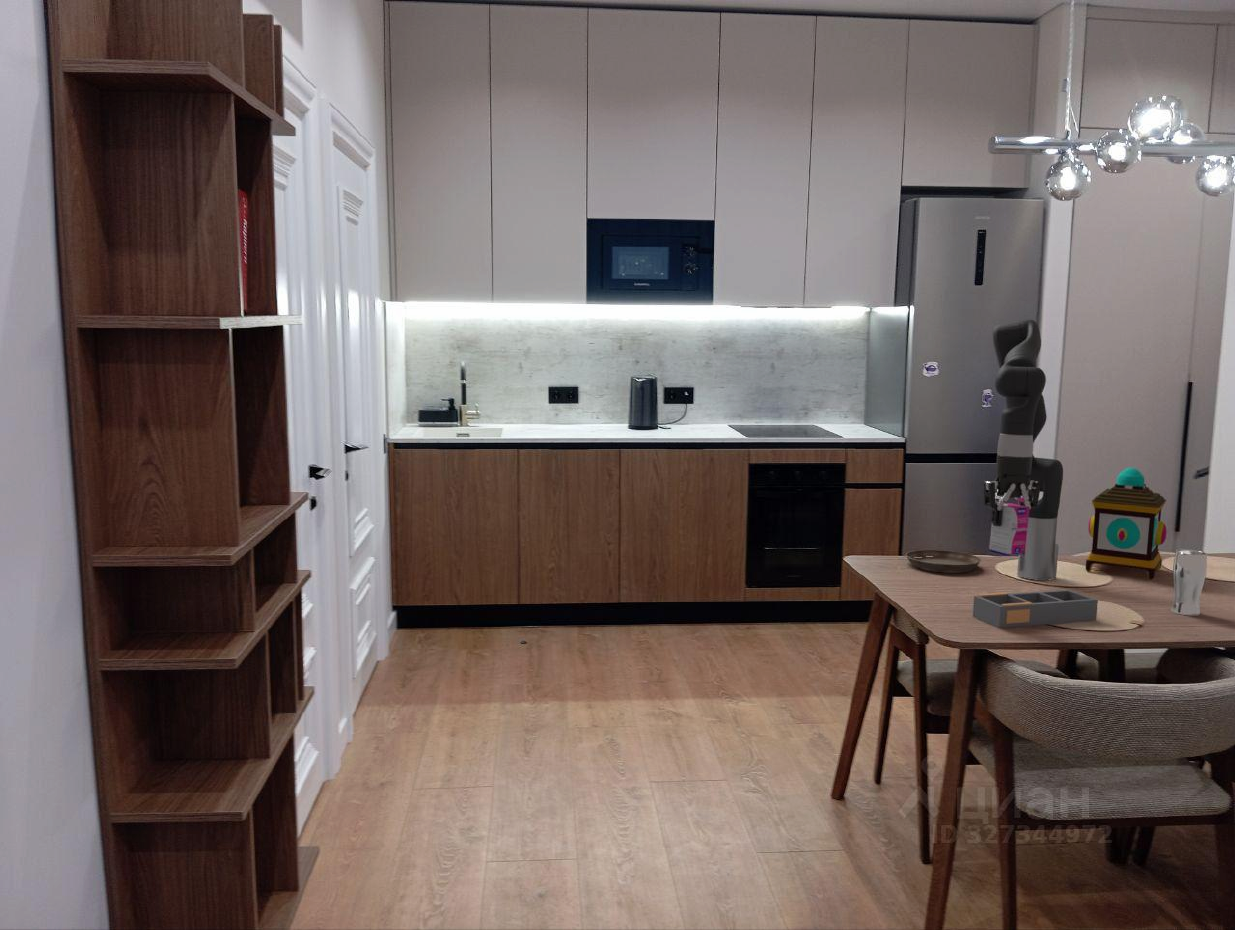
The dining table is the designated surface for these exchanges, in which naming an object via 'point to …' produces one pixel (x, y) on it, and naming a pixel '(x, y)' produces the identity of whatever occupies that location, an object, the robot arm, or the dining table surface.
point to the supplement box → (1010, 531)
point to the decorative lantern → (1127, 525)
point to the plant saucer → (943, 561)
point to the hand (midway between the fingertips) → (1009, 525)
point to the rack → (1034, 608)
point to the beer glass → (1188, 581)
